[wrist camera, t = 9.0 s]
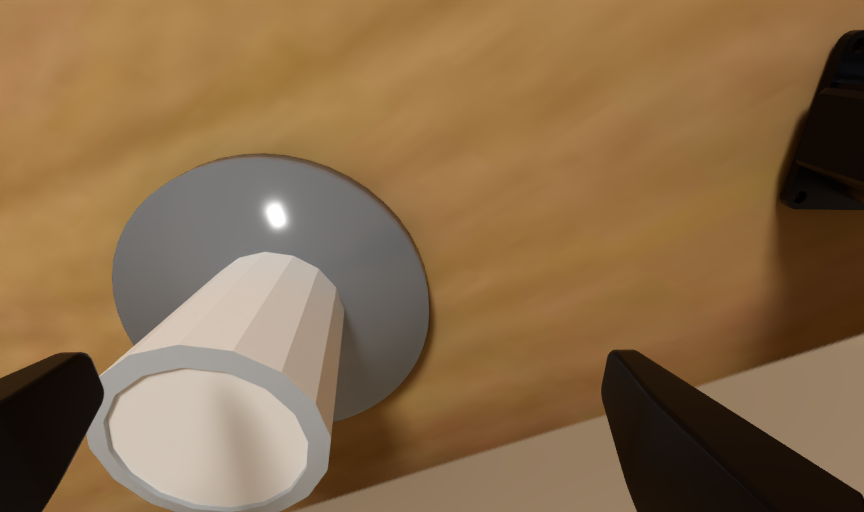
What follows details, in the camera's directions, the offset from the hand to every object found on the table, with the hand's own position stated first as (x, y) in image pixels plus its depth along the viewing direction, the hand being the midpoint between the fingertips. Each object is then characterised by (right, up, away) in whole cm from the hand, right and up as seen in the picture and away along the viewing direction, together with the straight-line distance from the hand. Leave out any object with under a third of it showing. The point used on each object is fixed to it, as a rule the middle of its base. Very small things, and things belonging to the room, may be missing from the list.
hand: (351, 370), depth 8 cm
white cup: (-5, 0, +11) cm, 13 cm away
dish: (-5, 0, +12) cm, 13 cm away
